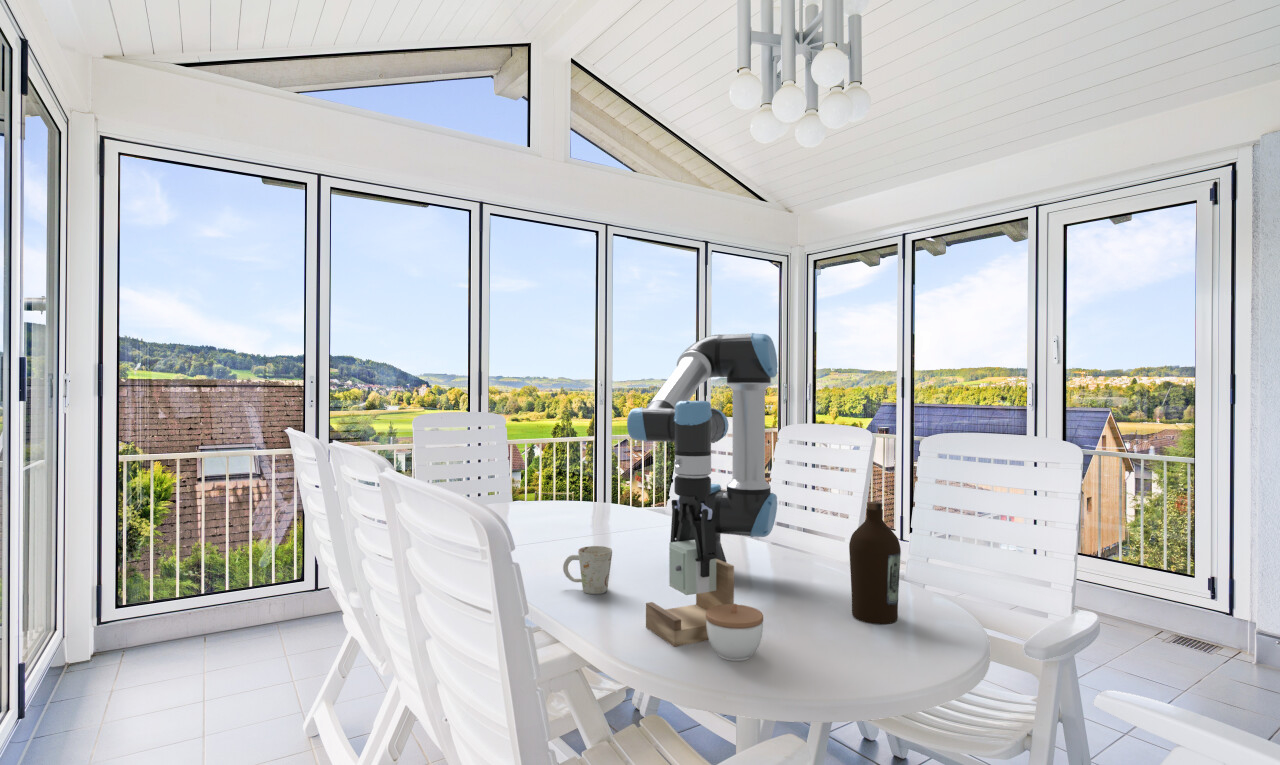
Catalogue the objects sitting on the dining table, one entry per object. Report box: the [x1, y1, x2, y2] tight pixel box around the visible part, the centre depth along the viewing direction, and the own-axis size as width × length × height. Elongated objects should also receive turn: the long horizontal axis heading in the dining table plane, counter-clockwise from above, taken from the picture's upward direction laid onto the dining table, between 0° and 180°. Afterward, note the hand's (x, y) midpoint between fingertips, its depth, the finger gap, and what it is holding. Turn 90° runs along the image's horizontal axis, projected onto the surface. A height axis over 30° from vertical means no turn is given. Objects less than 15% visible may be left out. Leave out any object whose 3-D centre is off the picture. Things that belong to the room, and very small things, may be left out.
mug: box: [562, 545, 613, 595], centre depth 165 cm, size 8×13×10 cm, turn 78°
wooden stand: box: [645, 559, 735, 648], centre depth 137 cm, size 14×12×14 cm
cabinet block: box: [668, 540, 716, 596], centre depth 137 cm, size 8×7×9 cm
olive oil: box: [848, 501, 902, 625], centre depth 146 cm, size 11×11×25 cm
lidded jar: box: [706, 603, 764, 662], centre depth 125 cm, size 11×11×9 cm
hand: (692, 586), depth 137 cm, fingers closed on cabinet block, 7 cm apart
